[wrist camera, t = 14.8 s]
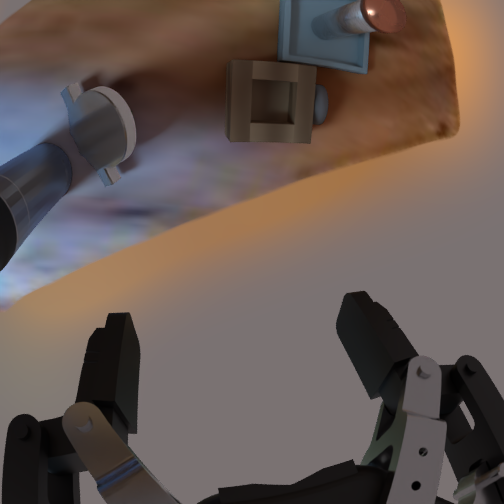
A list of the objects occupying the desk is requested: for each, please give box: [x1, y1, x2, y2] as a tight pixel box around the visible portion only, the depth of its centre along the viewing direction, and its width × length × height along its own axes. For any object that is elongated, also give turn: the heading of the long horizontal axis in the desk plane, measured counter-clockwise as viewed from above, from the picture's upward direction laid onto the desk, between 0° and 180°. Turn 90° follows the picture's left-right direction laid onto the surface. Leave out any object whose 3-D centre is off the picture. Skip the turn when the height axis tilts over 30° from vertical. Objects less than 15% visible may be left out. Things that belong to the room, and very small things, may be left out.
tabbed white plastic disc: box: [61, 83, 136, 187], centre depth 31 cm, size 15×8×11 cm
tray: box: [277, 0, 370, 74], centre depth 30 cm, size 13×13×2 cm
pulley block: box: [225, 60, 328, 144], centre depth 34 cm, size 12×10×6 cm
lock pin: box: [311, 0, 407, 40], centre depth 25 cm, size 5×5×15 cm
